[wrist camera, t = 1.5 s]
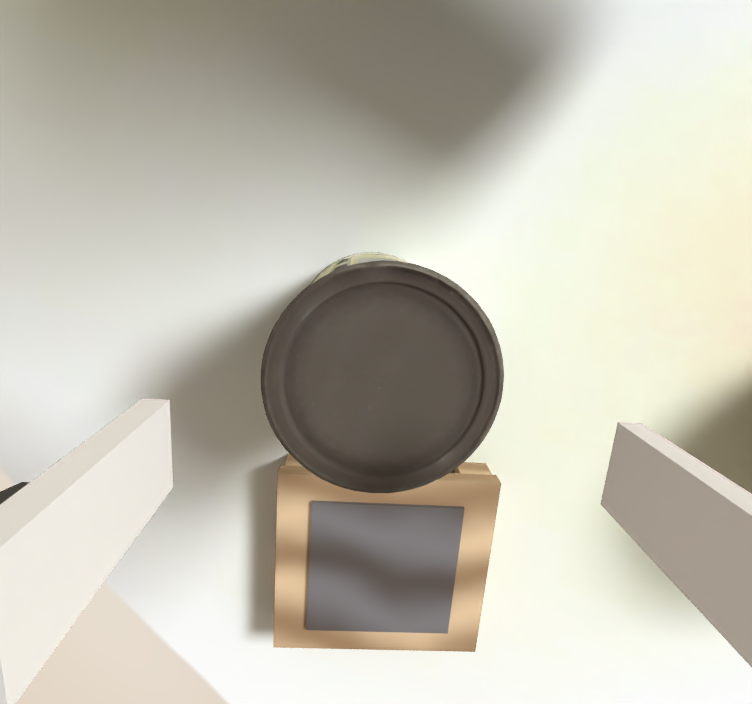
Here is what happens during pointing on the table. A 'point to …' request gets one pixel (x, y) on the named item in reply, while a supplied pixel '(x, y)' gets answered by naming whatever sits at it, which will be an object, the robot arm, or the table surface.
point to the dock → (382, 562)
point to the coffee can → (381, 375)
